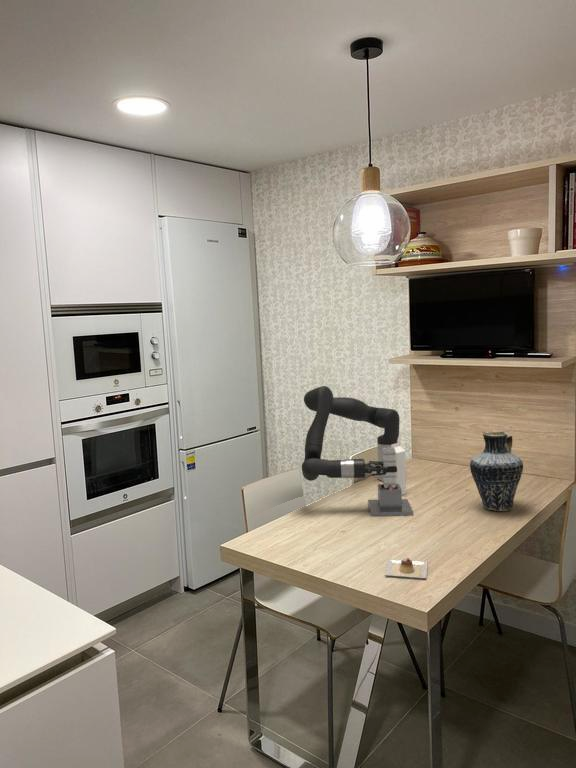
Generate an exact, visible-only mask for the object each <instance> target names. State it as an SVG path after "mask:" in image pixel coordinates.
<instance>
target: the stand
mask: <svg viewBox="0 0 576 768" xmlns="http://www.w3.org/2000/svg"><path fill="white" fill-rule="evenodd" d="M402 496H403V495H402V490H401V488H400V485H399V484H396V489H392V487H389V489H383V483H380V484H377V499H367V505H368V508H369V513H370V517H402V515H404V516H403V517H406V516H405V515H413V516H414V510H413V507H412V506H411V504H410V501H409V499H407V498H403V497H402Z"/></svg>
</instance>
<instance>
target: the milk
mask: <svg viewBox="0 0 576 768" xmlns="http://www.w3.org/2000/svg"><path fill="white" fill-rule="evenodd" d="M391 447H394V449H395V453H396V455H395V460H396V463H395V464H396V467H397V472H396V484H399V485H400V488H401V490H402V496H404V495H406V494H407V476H406V475H407V472H406V471H407V469H406V468H407V467H406V459H407V458H406V454H407V453H406V450H405V449H404V448H403V447H402V446H401V443H400V442H397V443H396V444H392V445H391ZM403 494H404V495H403Z"/></svg>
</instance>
